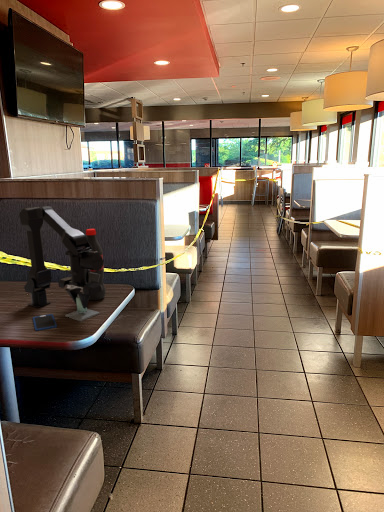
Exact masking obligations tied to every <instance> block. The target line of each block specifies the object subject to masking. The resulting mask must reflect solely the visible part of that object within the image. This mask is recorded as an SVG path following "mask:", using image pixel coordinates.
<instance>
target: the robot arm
mask: <svg viewBox="0 0 384 512" xmlns="http://www.w3.org/2000/svg"><path fill="white" fill-rule="evenodd" d="M18 216H19V217H18V218H19V220H20V223H21V226H22V228H23V229H25V231H26V234H27V243H28V251H29V259H30V260H29V261H30V268H29V271H28V273H27V274H28V275H27V276H28V277H27V278H28V279H27V281H26V283H25V285H24V286H23V289H24V291H25V293H29V294H30V301H31V302H28V303H27V305H28V306H31V307H34V308H40V307H43V306H46V305H49V304H51V301H49V300H48V298H47V289H50V288H51V283H52V279H53V277H52V271H51V269H50V268H48V267H47V266H46V265H45V258H44V250H43V242H42V234H41V229H42V227H43V225H44V222H46V224H48V226H49V227H51V229H52V230H54V231H55V232H56V233H57V234H58V235H59V237H60V238H61V242H62V244H63V245H64V247H65V249H67V250H66V252H65V253H64V255H65V256H68V258H69V259H68V260H69V268H70V270H67V273H68V274H70V276H67V277H63V278H60V279H59V281H58V282H57V284H58V287H59V288H61V289H65V291H66V292H67V294H68V295H69V296H70V298H71V300H72V301H73V302H74V304H75V305H76V307H77V303H76V297H77V294H78V295H79V298H80V300H81V303H82V306H83V308H84V309H85V308H86V307H87V308H88V303H89V301H90V300H89V297H90V295H92V294H95V293H98V292H101V291H102V285H100V284H98V283H91V281H96V282H99V278H100V274H97V273H92V272H90V270H95V271H99V270H100V269H101V268H102V266H103V267H104V258H103V259H102V257H101V256H100V255H99V253H98V252H97V251H95V252H93V251H94V250H93V248H92V246H91V245H90V243H89V241H88V240H87V236H86V233H85V234H84V233H83V232H82V231H80V230H79V229H76V228H75V227H74V228H73V227H71V226H70V225H69V224H68V223H67V222H66V221H65V220H64V219H63V218H62V217H60V216H59V215H58V213H56V211H54V209H53V207H52V206H49V205H47V206H40V207H38V206H37V207H36V206H35V207H27V208H26V207H25V208H22V209H21V211H19V215H18ZM84 247H85V248H84ZM87 283H91V284H88V285H87Z"/></svg>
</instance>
